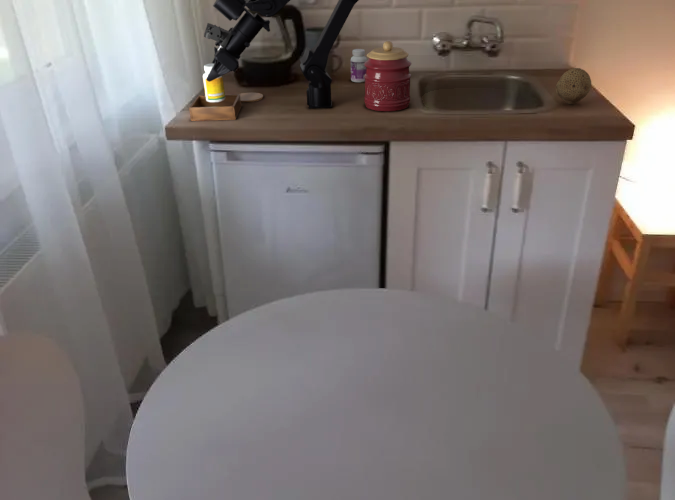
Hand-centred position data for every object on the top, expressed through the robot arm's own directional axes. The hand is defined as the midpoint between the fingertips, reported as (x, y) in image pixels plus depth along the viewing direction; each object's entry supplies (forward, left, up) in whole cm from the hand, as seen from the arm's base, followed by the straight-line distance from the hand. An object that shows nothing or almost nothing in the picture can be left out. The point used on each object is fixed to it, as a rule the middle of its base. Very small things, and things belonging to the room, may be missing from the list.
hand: (207, 78), depth 170 cm
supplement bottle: (-1, 0, -6) cm, 7 cm away
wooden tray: (-1, 0, -10) cm, 10 cm away
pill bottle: (-42, -32, -10) cm, 54 cm away
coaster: (-8, -15, -10) cm, 20 cm away
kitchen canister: (-49, -3, -10) cm, 50 cm away
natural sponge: (-100, +1, -10) cm, 100 cm away
